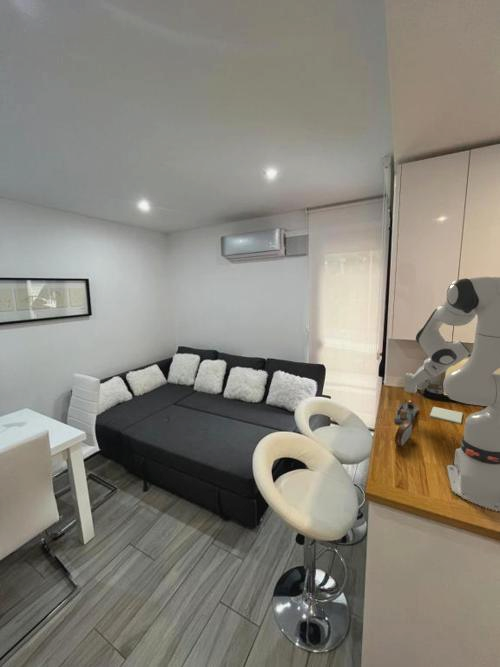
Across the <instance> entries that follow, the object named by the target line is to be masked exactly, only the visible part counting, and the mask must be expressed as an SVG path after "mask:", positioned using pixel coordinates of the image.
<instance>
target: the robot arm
mask: <svg viewBox="0 0 500 667" xmlns="http://www.w3.org/2000/svg"><path fill="white" fill-rule="evenodd" d="M476 316H477V323H476V327H475V334H474V342H473V346H472V351H471V352H470V350H469V349H468V347H466V345H465V344H464V343H463V342H462V341H460V340H456V341H454V342H448V341H446V340H445V338H444V337H443V336H442V334H441V333H440V328H441V326H442V325H443V324H444V325H447V326H453V327H461V326H466V325H468V324H469V323H471V322H472V321H473V320H474V318H475V317H476ZM415 341H416V342H417V343H418V345H419V346H420V347H421V348H422V350H423V351H424V352H425V354H426V355H427V356H428V357H427V359H424V360H423V364H422V366H420V367H419V368H418V369H417V370H416V372H415V373H414V374H415V375H414V376H413V377H412V379H410V380H408V383H409V384H411V383H413V382H415V383H416V384H417V385H419V384H421V383H423V382H425V381H428V380H429V379H431V378H436V377H437V376H439V375H441V374H442V373H444V372H446V371H447V370H449V369H450V368H451V367H452V366H455V365H457V364H459V363H461V362H462V361H463V360H465V359H466V358H467V357H468V356H469V355H470V356H469V358H468V359H467V361H466V362H465V363H464V364H463V365H462V366H461V367H459V368H458V369H456V370H454V371H452V372H450V373H448V374H447V375H446V376H445V378H444V380H443V385H442V387H443V391H444V393H445V395H446V396H447V397H448V398H449V399H450V400H453V401H456V402H458V403H463V404H466V405H468V404H469V405H475V406H481V407H482V406H483V407H485V408H484V409H481V410H480V411H477V412H472V413H470V414H469V415H468V416H467V417H466V419H465V422H464V431H463V436H461V441H460V443H461V445H460V447H459V448H456V449H455V454H454V462H453V463H452V464H448V465H447V466H446V470H447V475H448V479H449V483H450V487H451V488H452V489H451V488H450V489H451V492H452V491H453V492H454V493H455V494H454V493H453V492H452V493H453V494H454V495H456V494H457V495H459V496H461V497H463V498H465V499H467V500H469V501H472V502H473V503H476V504H478V505H480V506H479V507H481V506H484V507H486V508H485V509H487V508H489V509H488V510H490V509H493V510H497V511H500V373H499V374H498V373H495V372H496V371H497V370H499V369H500V277H499V276H498V277H497V276H494V277H493V276H479V277H472V278H471V277H470V278H462V279H460V278H459V279H457V280H454V281H452V282H451V284H450V285H449V286H448V288H447V290H446V299H445V302H444V304H442V305H439V306H437V307H436V308H435V309H434V310H433V312H432V314H430V316H429V318H428V319H427V321H426V322H425V324H424V325H423V327H422V328H421V329H420V330H419V331H418V332H417V334H416V335H415ZM470 353H471V354H470ZM457 495H456V496H457ZM463 495H464V496H463ZM459 496H458V497H459ZM461 497H460V498H461ZM469 501H468V502H469ZM473 503H472V504H473ZM476 504H475V505H476ZM478 505H477V506H478ZM484 507H483V508H484ZM493 510H492V511H493ZM497 511H496V512H497Z"/></svg>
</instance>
